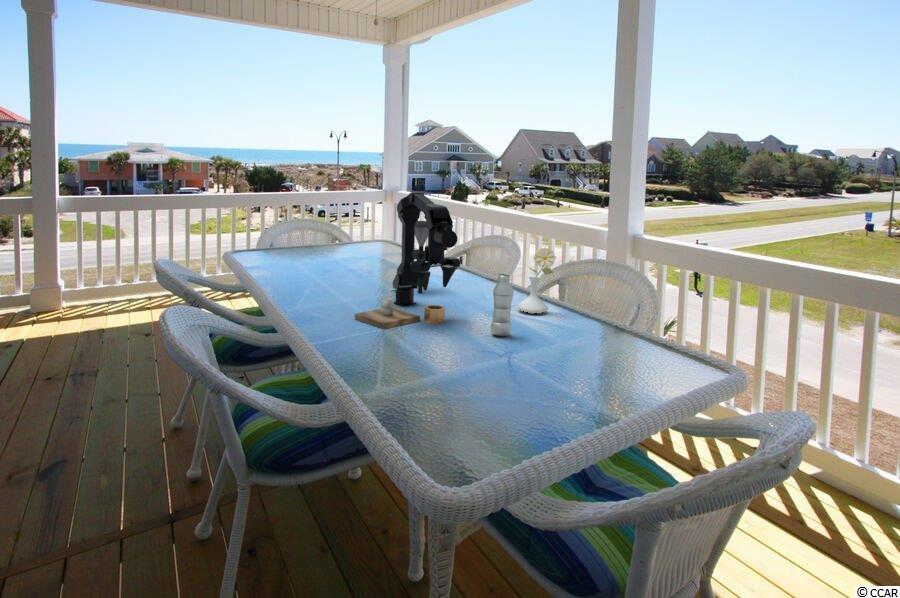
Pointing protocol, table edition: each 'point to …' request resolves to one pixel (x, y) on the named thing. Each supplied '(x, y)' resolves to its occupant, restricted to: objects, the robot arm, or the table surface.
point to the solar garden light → (421, 241)
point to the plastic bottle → (502, 306)
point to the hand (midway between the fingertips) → (435, 288)
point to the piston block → (387, 316)
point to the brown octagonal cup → (434, 314)
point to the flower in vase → (533, 302)
